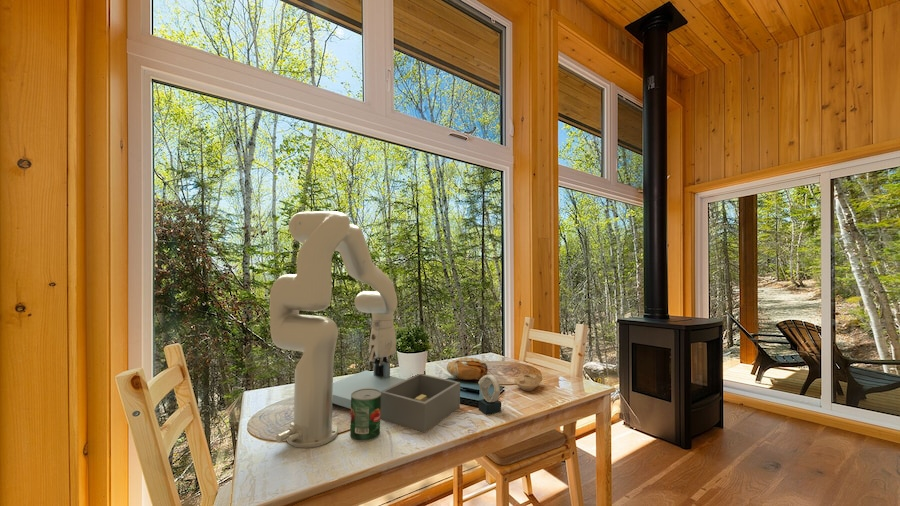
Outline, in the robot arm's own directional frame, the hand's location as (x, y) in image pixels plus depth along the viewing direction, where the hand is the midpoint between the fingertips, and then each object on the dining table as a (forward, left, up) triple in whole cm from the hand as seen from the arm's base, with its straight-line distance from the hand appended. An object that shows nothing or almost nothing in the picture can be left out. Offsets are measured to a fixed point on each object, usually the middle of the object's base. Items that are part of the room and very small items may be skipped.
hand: (381, 374), depth 132 cm
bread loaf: (+26, -24, -5) cm, 35 cm away
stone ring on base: (+4, -41, -5) cm, 41 cm away
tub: (-9, -24, -5) cm, 26 cm away
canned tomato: (-28, -19, -5) cm, 35 cm away
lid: (-9, 0, -3) cm, 10 cm away
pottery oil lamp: (+30, -46, -5) cm, 55 cm away
